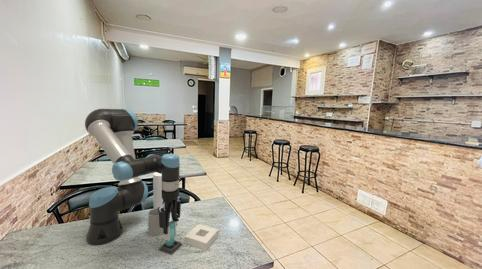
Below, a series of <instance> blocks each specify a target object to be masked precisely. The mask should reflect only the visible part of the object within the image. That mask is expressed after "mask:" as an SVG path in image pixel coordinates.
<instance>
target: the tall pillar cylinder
mask: <svg viewBox="0 0 482 269" xmlns="http://www.w3.org/2000/svg"><path fill="white" fill-rule="evenodd" d="M152 188H153V189H152V190H153V192H152V194H153V198H152V199H153V204H152V205H153V209H156V208H158V207H161V206H162V203H163V199H162V174H160V173H157V172H154V173H152ZM170 214H171V212H170Z"/></svg>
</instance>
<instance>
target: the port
mask: <svg viewBox="0 0 482 269" xmlns="http://www.w3.org/2000/svg"><path fill="white" fill-rule="evenodd" d="M219 231H220V230H219V229H218V228H214V227H211V226H208V225H204V224H200V223H198V224H197V225H196V226H195V227H194V228H193V229H191V230H190V231H189V232H188V233H187V234H186V235H185V236H184V244H186V245H187V246H192V247H195V248H197V249H201V250H204V251H207V250H208V249H209V248H210V246H211V245H212V244H213V243H214V241H216V239H218V237H219V234H220V233H219Z"/></svg>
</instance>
